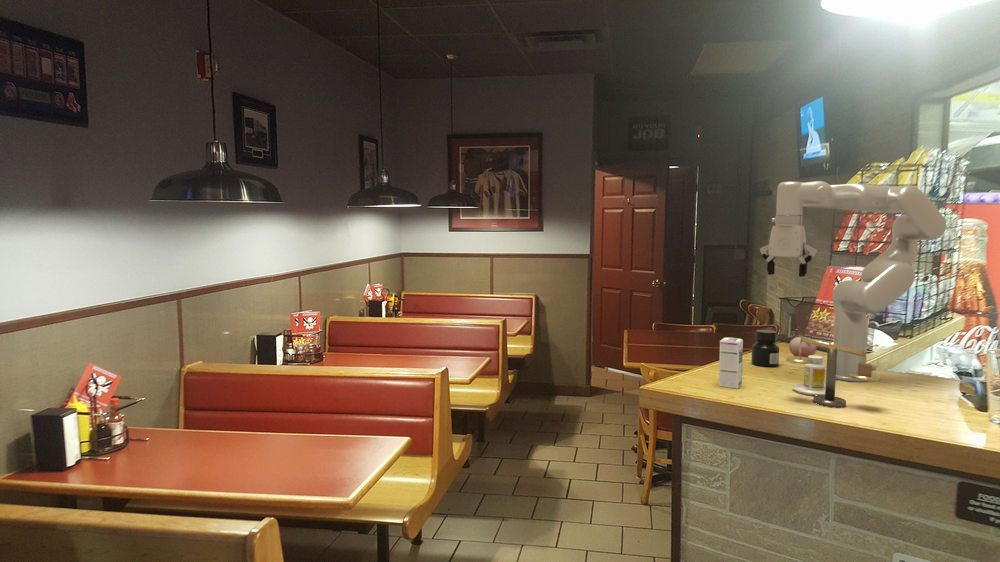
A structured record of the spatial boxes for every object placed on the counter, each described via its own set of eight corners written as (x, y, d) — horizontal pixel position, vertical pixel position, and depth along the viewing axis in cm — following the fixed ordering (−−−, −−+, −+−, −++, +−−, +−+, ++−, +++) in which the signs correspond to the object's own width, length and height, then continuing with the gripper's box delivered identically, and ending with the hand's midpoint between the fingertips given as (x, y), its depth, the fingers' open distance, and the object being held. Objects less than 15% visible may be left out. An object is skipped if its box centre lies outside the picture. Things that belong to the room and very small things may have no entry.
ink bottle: (778, 368, 211) (779, 334, 210) (750, 366, 215) (751, 332, 214) (778, 363, 220) (780, 330, 219) (752, 360, 224) (753, 328, 223)
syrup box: (738, 389, 185) (740, 341, 183) (717, 386, 188) (719, 339, 186) (742, 385, 189) (743, 338, 188) (722, 382, 192) (723, 336, 191)
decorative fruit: (783, 358, 228) (784, 332, 227) (804, 358, 229) (805, 331, 228) (798, 364, 219) (799, 336, 218) (819, 363, 220) (821, 336, 219)
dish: (813, 385, 189) (813, 382, 189) (842, 395, 178) (843, 392, 178) (783, 388, 185) (784, 385, 185) (812, 398, 175) (812, 394, 175)
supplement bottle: (800, 388, 182) (802, 356, 181) (807, 385, 185) (809, 353, 185) (819, 392, 178) (821, 359, 177) (826, 388, 182) (828, 356, 181)
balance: (784, 394, 179) (787, 333, 177) (876, 405, 168) (880, 340, 167) (783, 401, 172) (786, 337, 170) (878, 413, 161) (883, 345, 159)
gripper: (756, 221, 197) (754, 274, 199) (812, 221, 185) (810, 277, 186) (766, 221, 202) (764, 273, 204) (822, 221, 190) (819, 276, 191)
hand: (786, 275), depth 195 cm, fingers open, 9 cm apart
